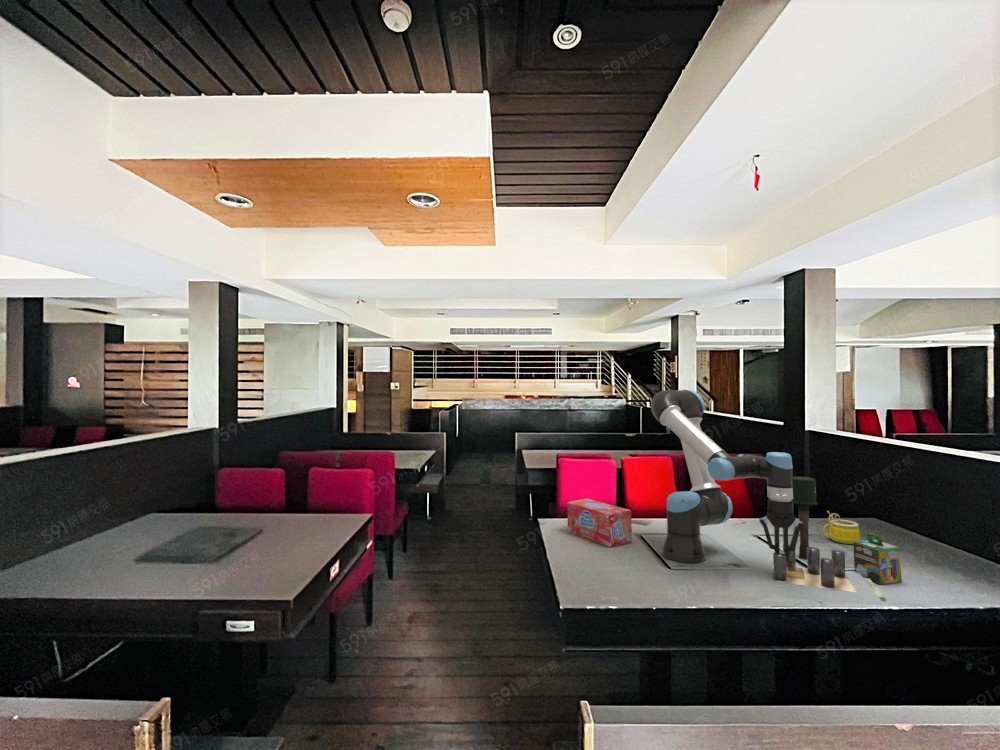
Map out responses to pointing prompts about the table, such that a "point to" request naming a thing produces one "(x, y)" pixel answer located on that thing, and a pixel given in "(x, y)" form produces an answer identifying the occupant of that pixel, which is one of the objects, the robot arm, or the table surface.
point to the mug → (842, 530)
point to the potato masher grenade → (804, 507)
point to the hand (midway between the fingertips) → (782, 570)
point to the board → (840, 583)
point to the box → (600, 522)
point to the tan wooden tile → (795, 572)
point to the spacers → (812, 565)
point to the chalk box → (877, 560)
